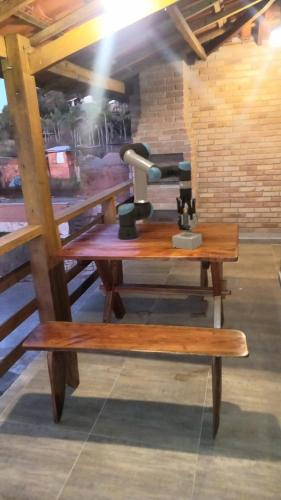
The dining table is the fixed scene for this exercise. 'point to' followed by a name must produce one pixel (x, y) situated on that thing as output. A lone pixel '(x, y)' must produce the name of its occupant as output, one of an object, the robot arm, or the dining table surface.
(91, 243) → the dining table surface
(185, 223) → the steel pin
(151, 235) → the dining table surface
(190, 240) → the block
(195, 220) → the ball valve
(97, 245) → the dining table surface
